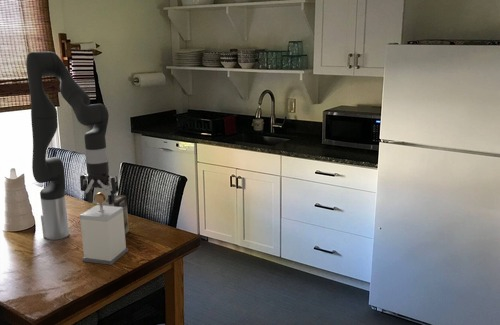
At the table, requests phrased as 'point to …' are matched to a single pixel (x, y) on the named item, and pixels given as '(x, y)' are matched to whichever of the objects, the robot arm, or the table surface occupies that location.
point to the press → (103, 234)
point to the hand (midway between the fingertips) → (100, 203)
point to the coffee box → (120, 202)
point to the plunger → (100, 199)
